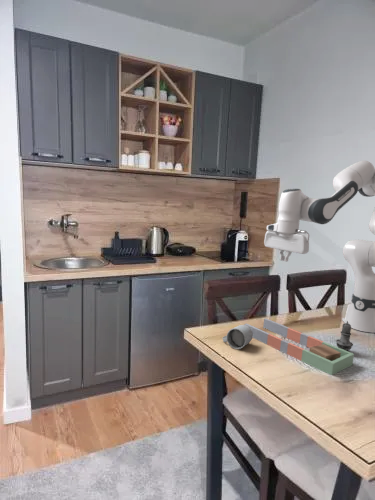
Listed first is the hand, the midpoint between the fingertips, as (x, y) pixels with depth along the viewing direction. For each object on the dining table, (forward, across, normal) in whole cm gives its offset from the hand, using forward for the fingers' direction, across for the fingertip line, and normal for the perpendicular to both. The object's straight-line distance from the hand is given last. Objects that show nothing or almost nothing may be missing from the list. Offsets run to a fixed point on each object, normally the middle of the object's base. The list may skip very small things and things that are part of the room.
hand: (283, 260), depth 145 cm
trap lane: (+29, -17, +12) cm, 36 cm away
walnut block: (+29, -30, +13) cm, 44 cm away
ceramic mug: (+30, -4, +29) cm, 42 cm away
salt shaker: (+29, -29, -2) cm, 41 cm away
